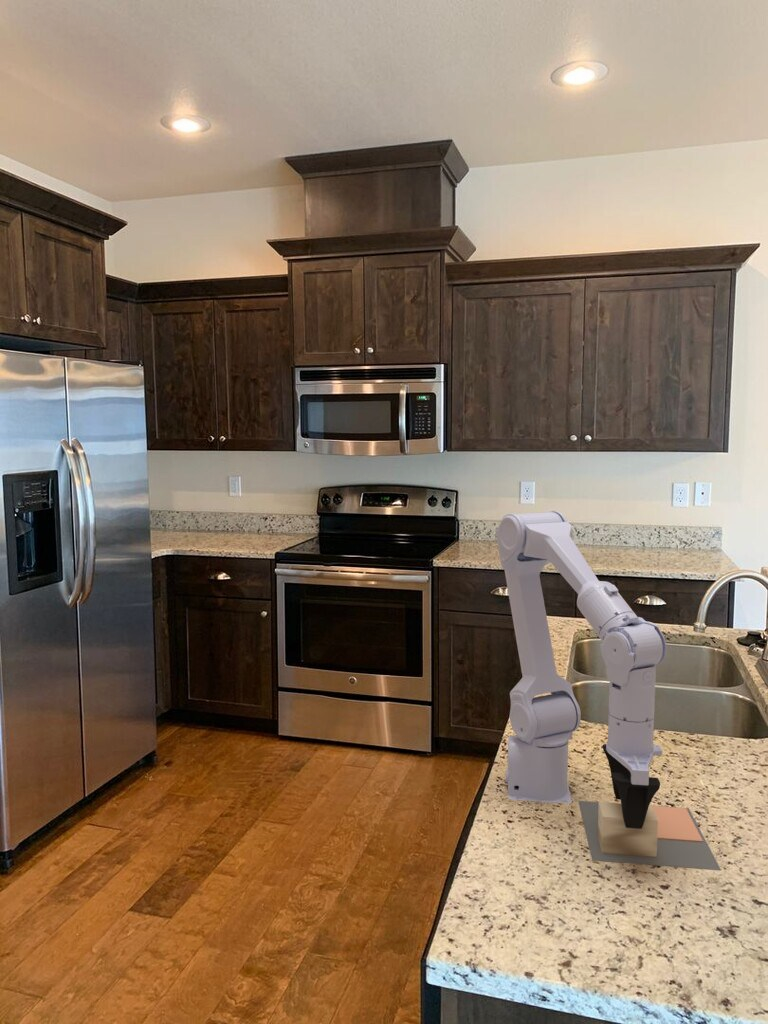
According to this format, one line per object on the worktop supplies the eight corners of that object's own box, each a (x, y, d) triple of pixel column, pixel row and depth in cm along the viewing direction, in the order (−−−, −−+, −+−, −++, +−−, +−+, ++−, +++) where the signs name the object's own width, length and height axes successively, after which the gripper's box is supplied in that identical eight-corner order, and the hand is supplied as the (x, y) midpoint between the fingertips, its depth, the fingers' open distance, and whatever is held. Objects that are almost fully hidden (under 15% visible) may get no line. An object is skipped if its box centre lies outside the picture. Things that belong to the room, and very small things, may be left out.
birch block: (601, 852, 99) (602, 816, 99) (597, 836, 103) (598, 802, 103) (656, 856, 98) (658, 820, 98) (650, 840, 102) (651, 805, 102)
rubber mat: (592, 862, 98) (592, 858, 98) (578, 803, 114) (578, 799, 113) (720, 873, 96) (721, 868, 95) (688, 810, 111) (688, 806, 111)
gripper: (676, 737, 91) (672, 843, 93) (651, 696, 106) (648, 788, 107) (616, 734, 92) (613, 839, 94) (599, 694, 107) (597, 785, 108)
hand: (628, 812), depth 100 cm, fingers open, 7 cm apart
